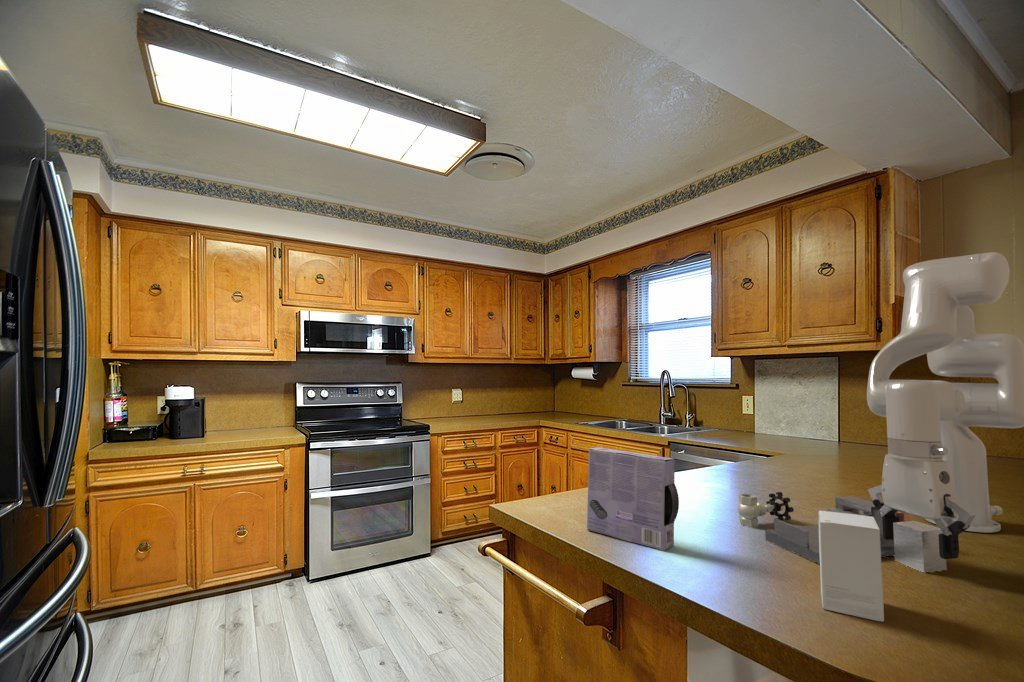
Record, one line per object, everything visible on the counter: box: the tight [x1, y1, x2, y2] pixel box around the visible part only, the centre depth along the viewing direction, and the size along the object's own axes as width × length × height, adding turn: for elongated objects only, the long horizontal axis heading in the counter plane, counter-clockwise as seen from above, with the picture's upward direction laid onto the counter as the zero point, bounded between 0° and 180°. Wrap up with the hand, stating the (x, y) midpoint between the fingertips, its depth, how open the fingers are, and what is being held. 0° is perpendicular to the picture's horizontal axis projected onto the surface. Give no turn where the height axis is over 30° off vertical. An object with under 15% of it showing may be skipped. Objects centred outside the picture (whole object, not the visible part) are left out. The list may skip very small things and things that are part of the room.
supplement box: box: [818, 510, 885, 623], centre depth 72 cm, size 7×7×13 cm
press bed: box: [764, 495, 895, 563], centre depth 95 cm, size 20×13×8 cm, turn 103°
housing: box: [893, 520, 948, 574], centre depth 86 cm, size 6×5×7 cm
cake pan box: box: [586, 446, 680, 552], centre depth 101 cm, size 19×5×18 cm, turn 47°
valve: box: [737, 491, 795, 528], centre depth 110 cm, size 7×7×12 cm
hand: (918, 548), depth 85 cm, fingers open, 9 cm apart
